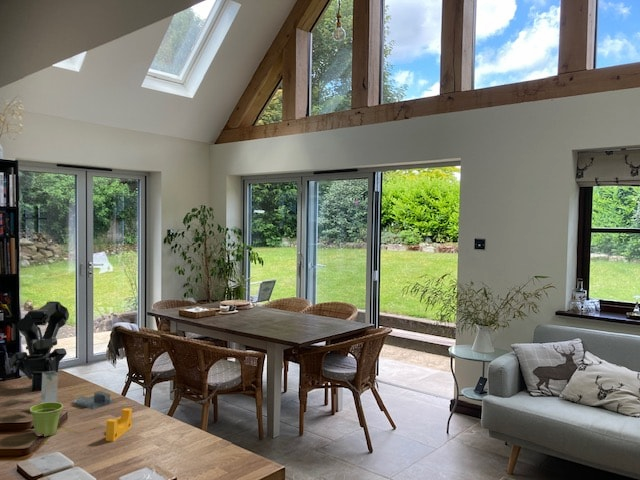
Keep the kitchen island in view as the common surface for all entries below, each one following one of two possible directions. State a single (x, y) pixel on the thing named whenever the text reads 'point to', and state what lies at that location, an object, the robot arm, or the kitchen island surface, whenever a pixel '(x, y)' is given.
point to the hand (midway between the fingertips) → (44, 377)
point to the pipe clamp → (118, 425)
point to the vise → (94, 400)
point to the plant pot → (46, 417)
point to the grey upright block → (49, 386)
